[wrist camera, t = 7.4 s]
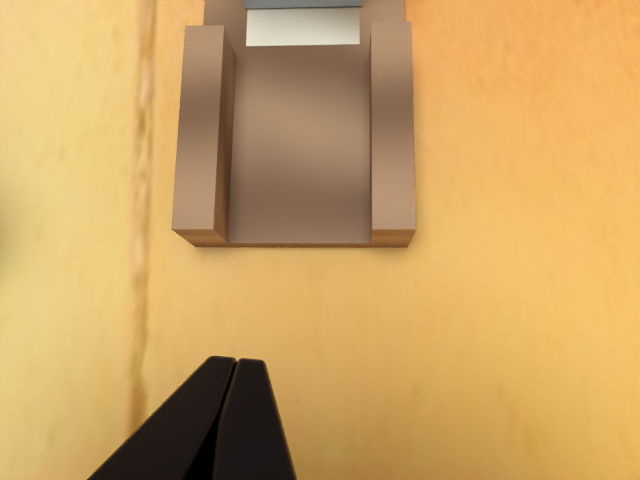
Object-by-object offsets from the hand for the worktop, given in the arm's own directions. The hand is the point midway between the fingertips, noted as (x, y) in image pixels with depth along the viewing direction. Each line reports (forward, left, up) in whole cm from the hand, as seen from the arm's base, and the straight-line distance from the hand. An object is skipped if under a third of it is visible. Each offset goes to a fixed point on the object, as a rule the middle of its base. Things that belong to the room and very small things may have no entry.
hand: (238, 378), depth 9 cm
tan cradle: (+12, 0, -14) cm, 18 cm away
